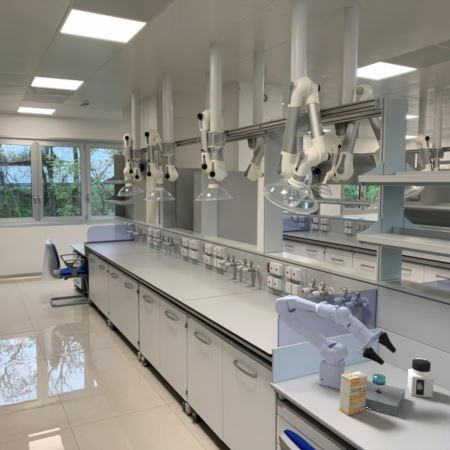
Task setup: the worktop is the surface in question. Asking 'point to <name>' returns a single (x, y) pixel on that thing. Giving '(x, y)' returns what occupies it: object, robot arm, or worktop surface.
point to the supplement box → (353, 392)
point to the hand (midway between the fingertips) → (389, 357)
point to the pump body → (384, 398)
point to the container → (420, 378)
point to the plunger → (378, 381)
